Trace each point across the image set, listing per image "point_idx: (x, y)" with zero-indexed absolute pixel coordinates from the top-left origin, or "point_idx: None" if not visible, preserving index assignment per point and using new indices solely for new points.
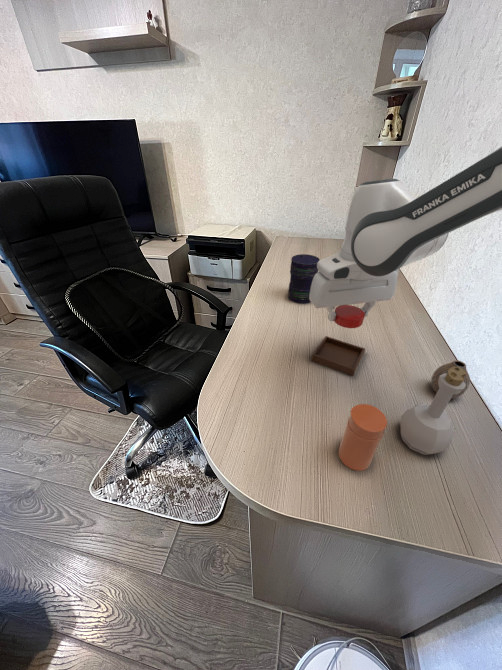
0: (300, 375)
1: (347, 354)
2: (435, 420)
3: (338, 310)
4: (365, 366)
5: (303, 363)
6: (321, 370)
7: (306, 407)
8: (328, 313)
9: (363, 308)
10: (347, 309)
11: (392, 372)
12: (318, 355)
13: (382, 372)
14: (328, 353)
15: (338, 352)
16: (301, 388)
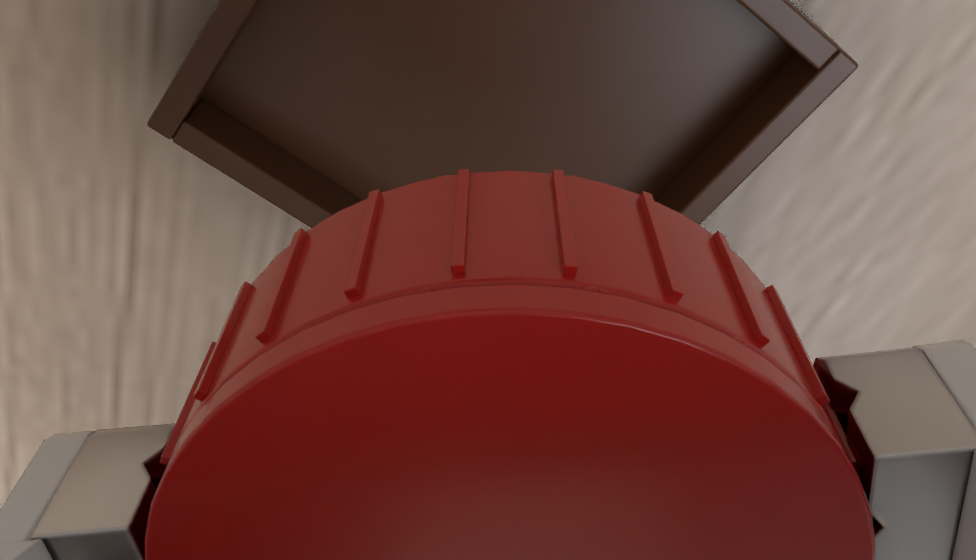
0: (55, 281)
1: (618, 53)
2: None
3: (236, 543)
4: (730, 219)
5: (84, 124)
6: (265, 236)
7: None
8: (2, 510)
9: (971, 498)
10: (497, 521)
11: (934, 310)
12: (256, 45)
13: (841, 303)
14: (389, 17)
15: (522, 6)
16: (66, 409)
